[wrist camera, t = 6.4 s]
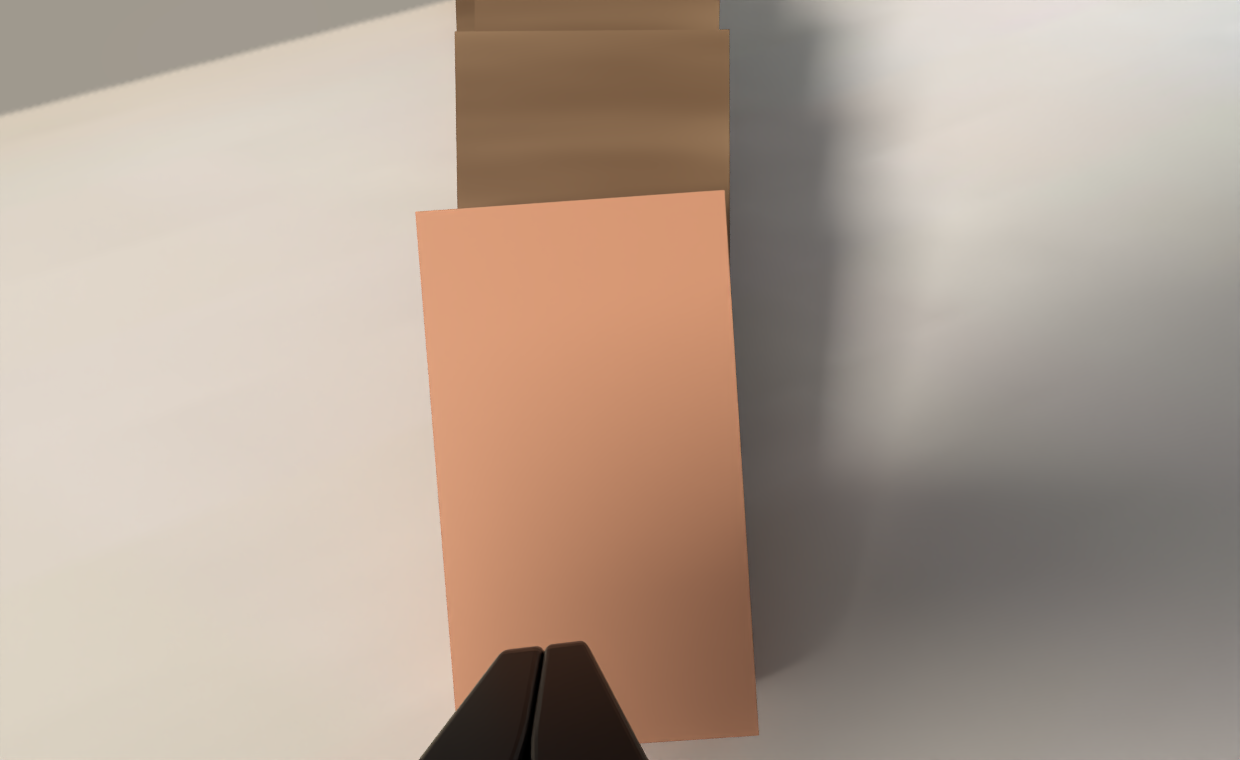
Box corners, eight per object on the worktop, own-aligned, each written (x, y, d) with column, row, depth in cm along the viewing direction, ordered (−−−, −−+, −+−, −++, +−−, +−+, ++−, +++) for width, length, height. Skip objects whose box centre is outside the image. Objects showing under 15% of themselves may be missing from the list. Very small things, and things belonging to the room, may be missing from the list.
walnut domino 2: (729, 519, 13) (729, 29, 13) (462, 521, 13) (454, 32, 13) (718, 501, 15) (717, 65, 14) (479, 503, 15) (473, 66, 15)
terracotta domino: (758, 735, 12) (724, 190, 11) (459, 755, 12) (415, 212, 11) (742, 689, 13) (711, 209, 13) (478, 707, 13) (440, 229, 13)
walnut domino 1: (711, 361, 15) (721, -82, 14) (470, 357, 15) (475, -86, 14) (702, 360, 16) (711, -38, 16) (485, 357, 16) (489, -42, 16)
